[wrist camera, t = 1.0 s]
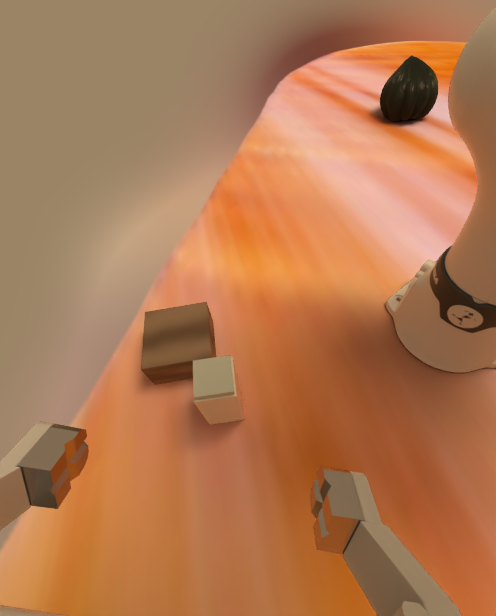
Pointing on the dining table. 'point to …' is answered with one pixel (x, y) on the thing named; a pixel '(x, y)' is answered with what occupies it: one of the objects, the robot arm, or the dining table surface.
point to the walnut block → (176, 341)
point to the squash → (409, 91)
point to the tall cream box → (217, 390)
